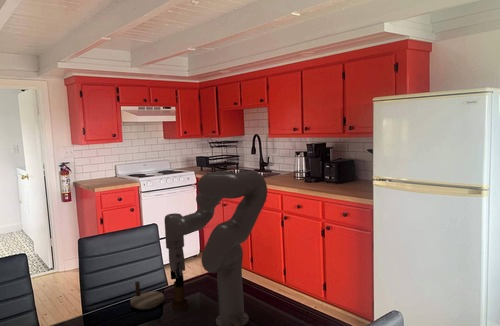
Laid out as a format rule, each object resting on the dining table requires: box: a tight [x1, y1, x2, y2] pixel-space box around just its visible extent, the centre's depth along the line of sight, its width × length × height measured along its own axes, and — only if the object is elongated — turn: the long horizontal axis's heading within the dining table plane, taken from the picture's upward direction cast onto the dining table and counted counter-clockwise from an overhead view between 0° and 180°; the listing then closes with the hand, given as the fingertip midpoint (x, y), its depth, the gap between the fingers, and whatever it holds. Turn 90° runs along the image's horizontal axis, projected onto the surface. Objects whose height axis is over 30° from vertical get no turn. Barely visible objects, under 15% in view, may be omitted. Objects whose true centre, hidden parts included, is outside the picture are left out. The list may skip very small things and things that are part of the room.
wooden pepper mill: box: [171, 272, 189, 312], centre depth 163 cm, size 7×6×18 cm
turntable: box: [130, 281, 165, 309], centre depth 167 cm, size 14×14×8 cm
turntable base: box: [136, 304, 160, 311], centre depth 168 cm, size 10×10×1 cm
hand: (177, 282), depth 163 cm, fingers open, 9 cm apart
